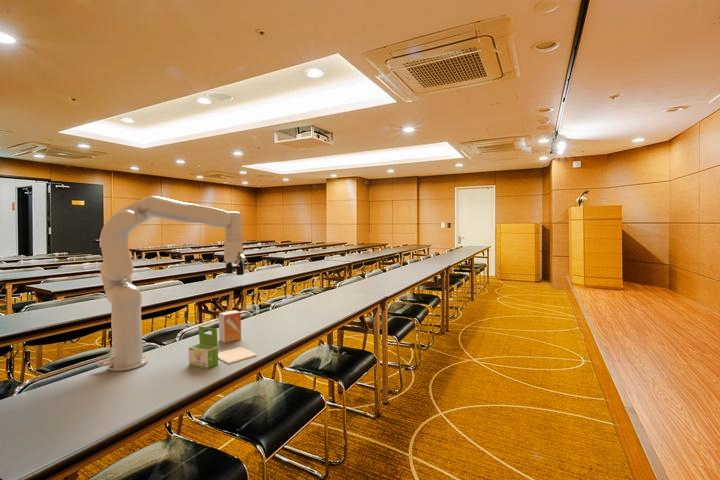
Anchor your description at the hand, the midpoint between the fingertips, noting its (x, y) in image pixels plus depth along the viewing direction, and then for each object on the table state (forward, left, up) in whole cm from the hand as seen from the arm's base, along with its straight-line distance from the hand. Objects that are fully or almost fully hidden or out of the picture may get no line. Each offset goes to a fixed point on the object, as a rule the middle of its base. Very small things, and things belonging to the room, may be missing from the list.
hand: (234, 274), depth 165 cm
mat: (-11, -21, -31) cm, 39 cm away
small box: (-3, +1, -31) cm, 31 cm away
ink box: (-24, -21, -31) cm, 45 cm away
